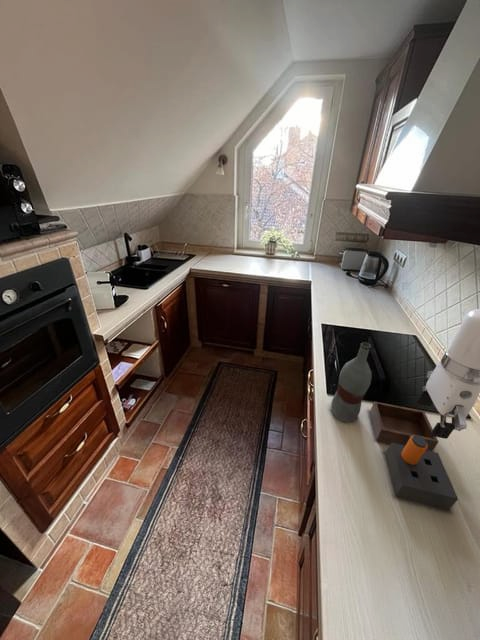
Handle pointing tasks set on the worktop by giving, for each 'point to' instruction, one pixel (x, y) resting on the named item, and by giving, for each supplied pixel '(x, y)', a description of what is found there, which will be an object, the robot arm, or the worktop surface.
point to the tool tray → (400, 424)
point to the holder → (420, 478)
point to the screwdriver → (414, 449)
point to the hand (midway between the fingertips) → (430, 419)
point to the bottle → (352, 386)
